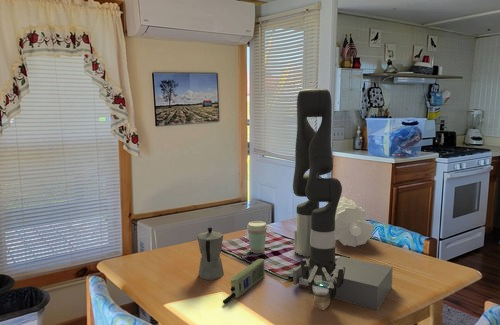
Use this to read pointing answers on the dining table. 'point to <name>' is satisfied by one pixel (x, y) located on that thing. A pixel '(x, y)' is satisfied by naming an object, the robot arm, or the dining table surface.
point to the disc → (321, 288)
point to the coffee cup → (257, 236)
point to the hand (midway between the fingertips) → (322, 295)
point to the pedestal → (321, 301)
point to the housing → (363, 282)
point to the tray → (299, 279)
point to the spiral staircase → (351, 224)
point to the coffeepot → (210, 255)
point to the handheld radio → (246, 279)
